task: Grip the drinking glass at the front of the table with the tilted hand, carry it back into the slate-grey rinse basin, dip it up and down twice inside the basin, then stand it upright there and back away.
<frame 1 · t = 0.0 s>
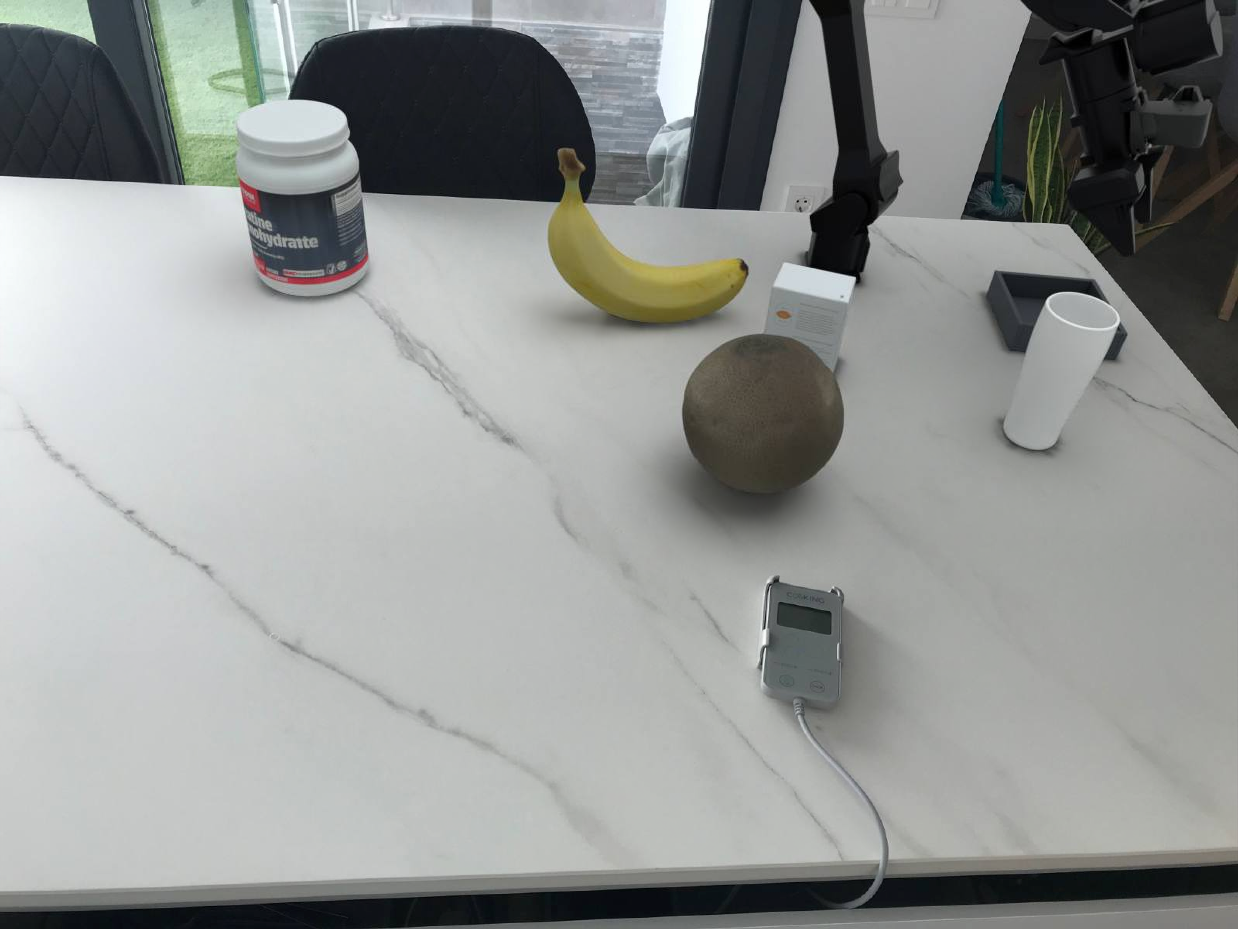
hand: (1137, 238, 102), 15 cm above the table, tool tilted 35°, fingers open, 9 cm apart
cantaloupe: (748, 483, 92), on the table
rinse basin: (1048, 326, 116), on the table
small box: (796, 366, 107), on the table
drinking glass: (1027, 437, 100), on the table
supplement tub: (315, 274, 115), on the table
banana: (644, 318, 112), on the table
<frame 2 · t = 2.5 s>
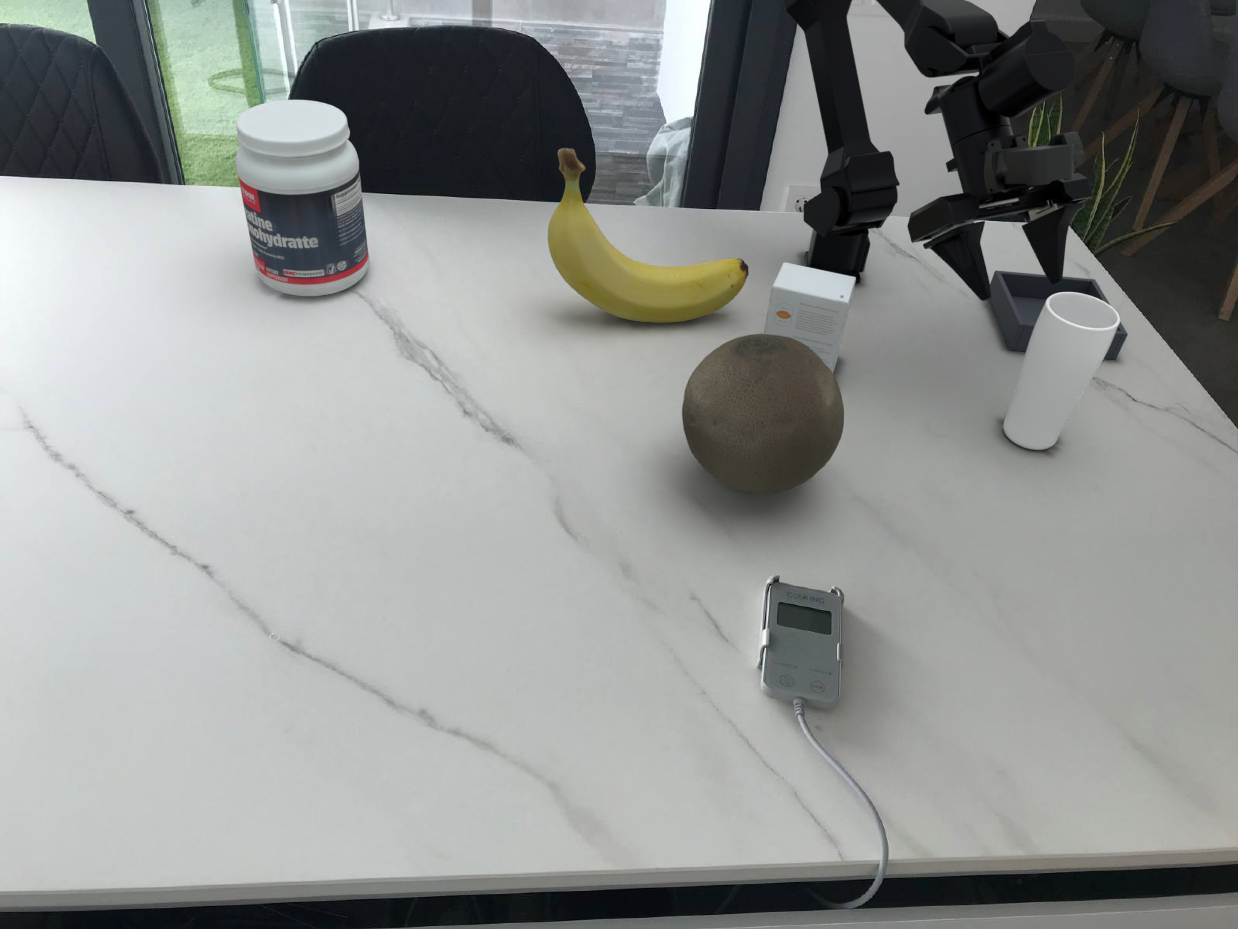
hand: (1022, 291, 96), 13 cm above the table, tool tilted 45°, fingers open, 9 cm apart
nothing on the table moved.
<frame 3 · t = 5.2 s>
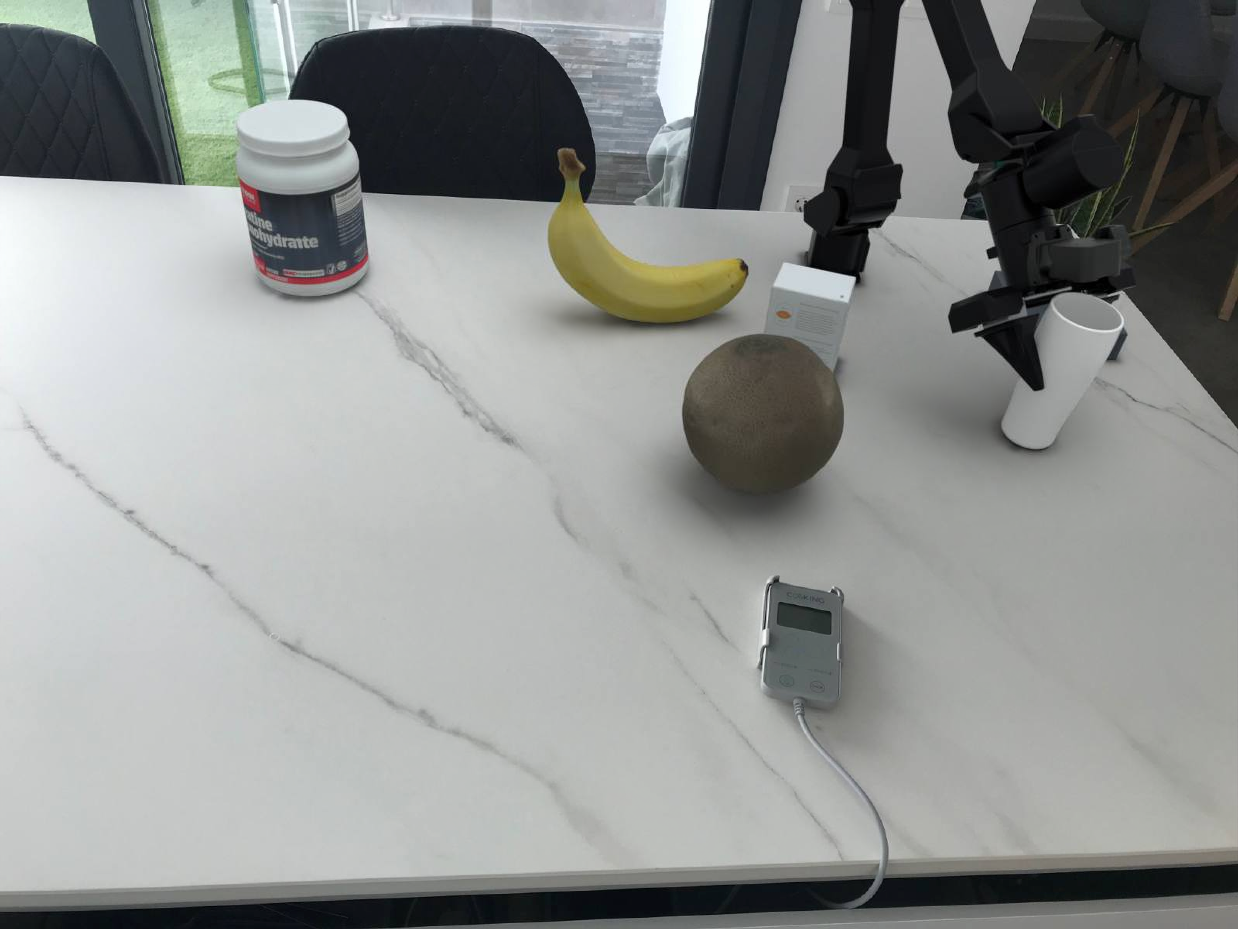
hand: (1065, 383, 94), 8 cm above the table, tool tilted 45°, fingers closed on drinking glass, 6 cm apart
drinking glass: (1024, 436, 100), on the table, touching gripper
everything else where it was.
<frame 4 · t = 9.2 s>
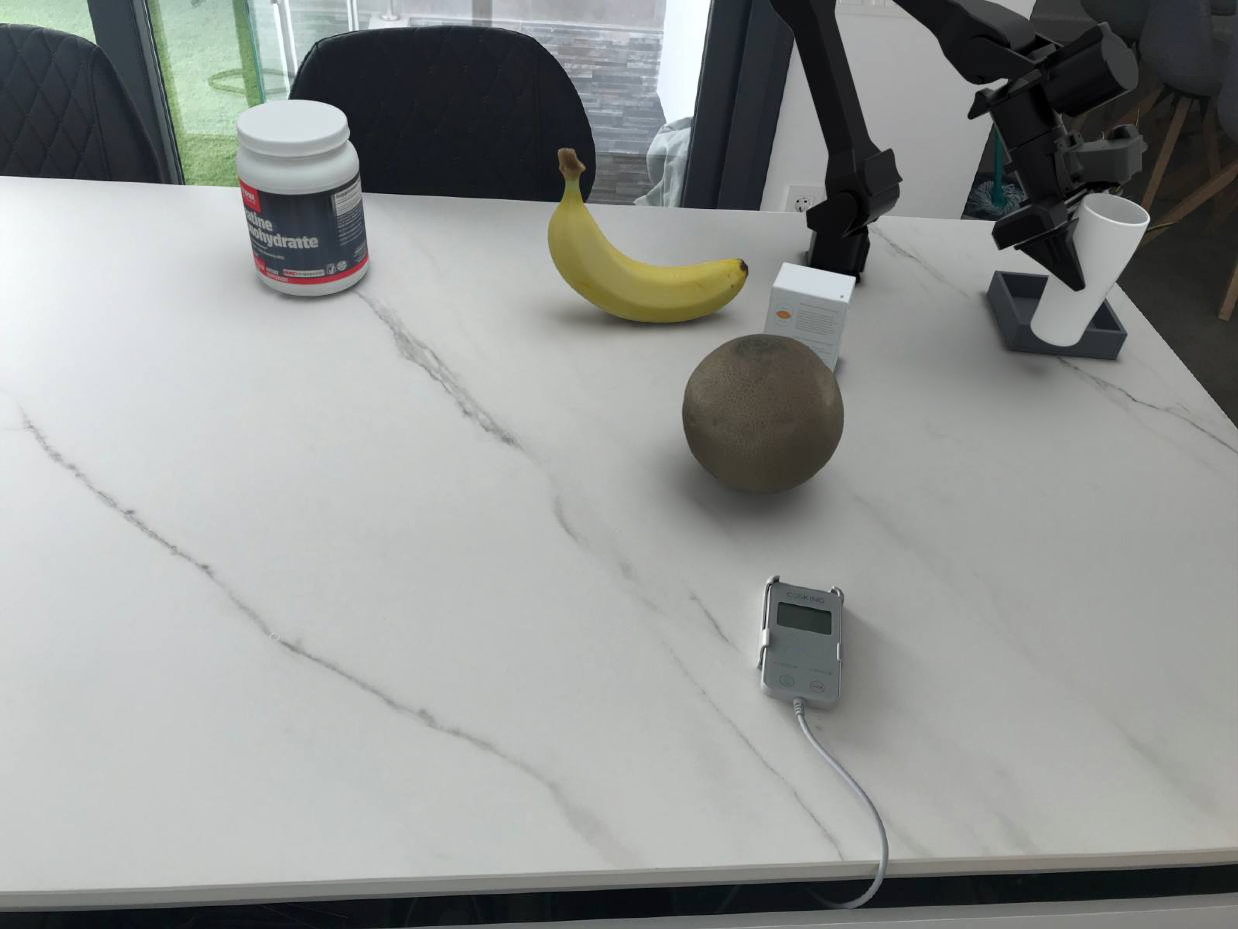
hand: (1094, 279, 100), 12 cm above the table, tool tilted 45°, fingers closed on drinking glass, 6 cm apart
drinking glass: (1052, 336, 106), point 5 cm above the table, touching gripper
everything else where it was.
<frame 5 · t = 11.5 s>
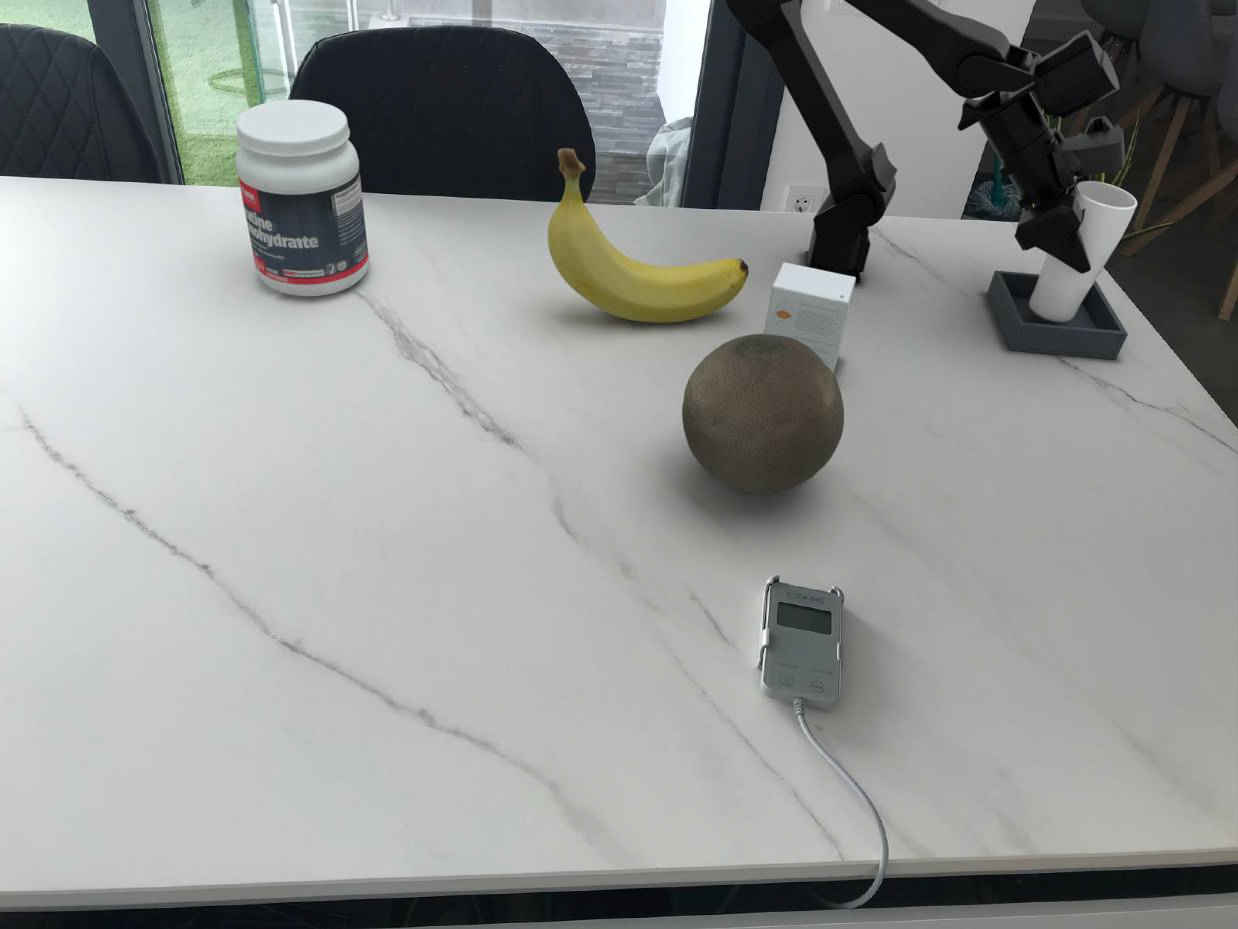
hand: (1088, 258, 110), 9 cm above the table, tool tilted 45°, fingers closed on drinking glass, 6 cm apart
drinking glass: (1049, 313, 115), point 2 cm above the table, touching gripper
everything else where it was.
when the fingers open (8 cm above the table, at t = 13.5 s): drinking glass stays where it is, resting on rinse basin.
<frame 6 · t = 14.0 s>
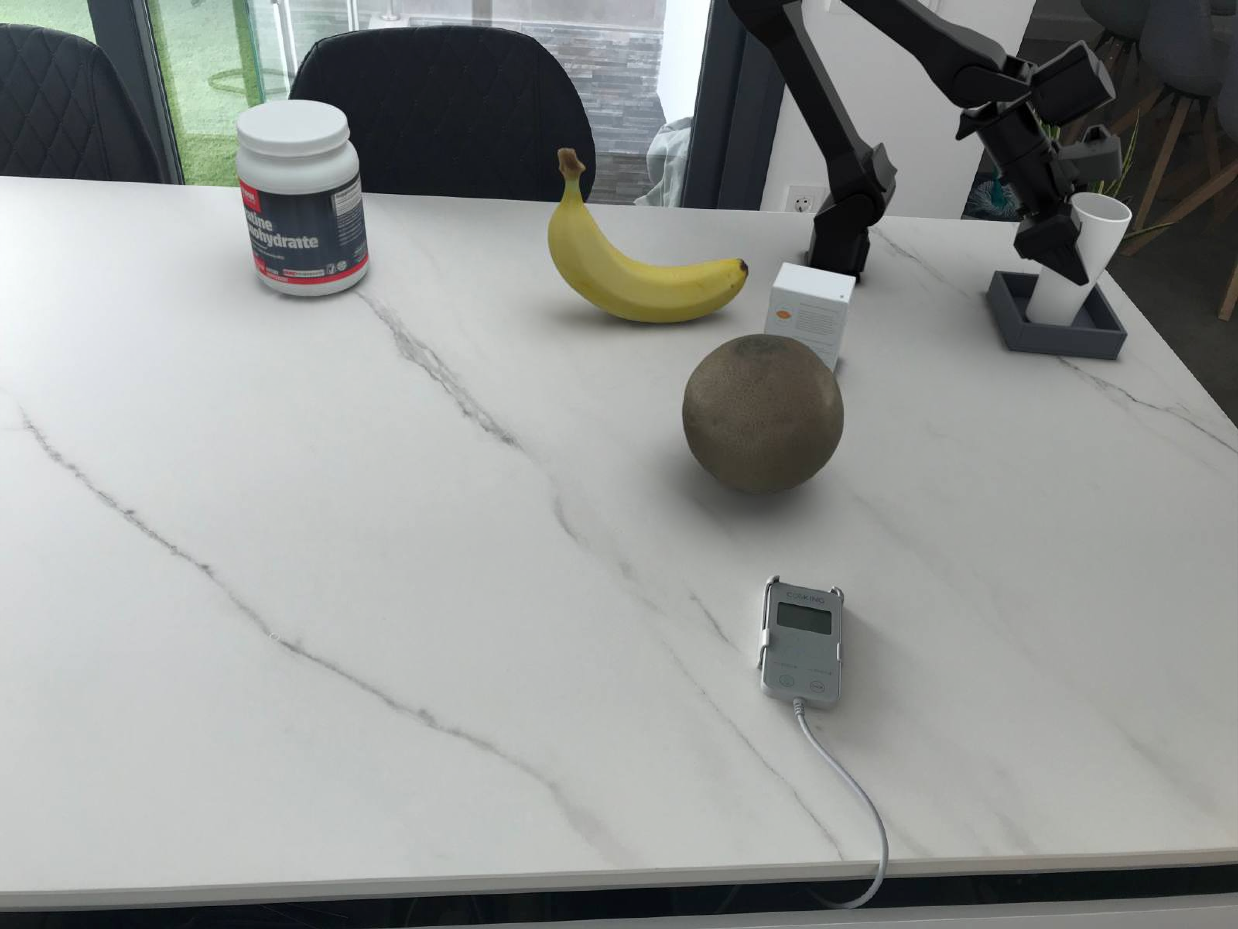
hand: (1087, 265, 110), 9 cm above the table, tool tilted 45°, fingers open, 9 cm apart
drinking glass: (1045, 322, 116), resting on rinse basin, touching gripper
everything else where it was.
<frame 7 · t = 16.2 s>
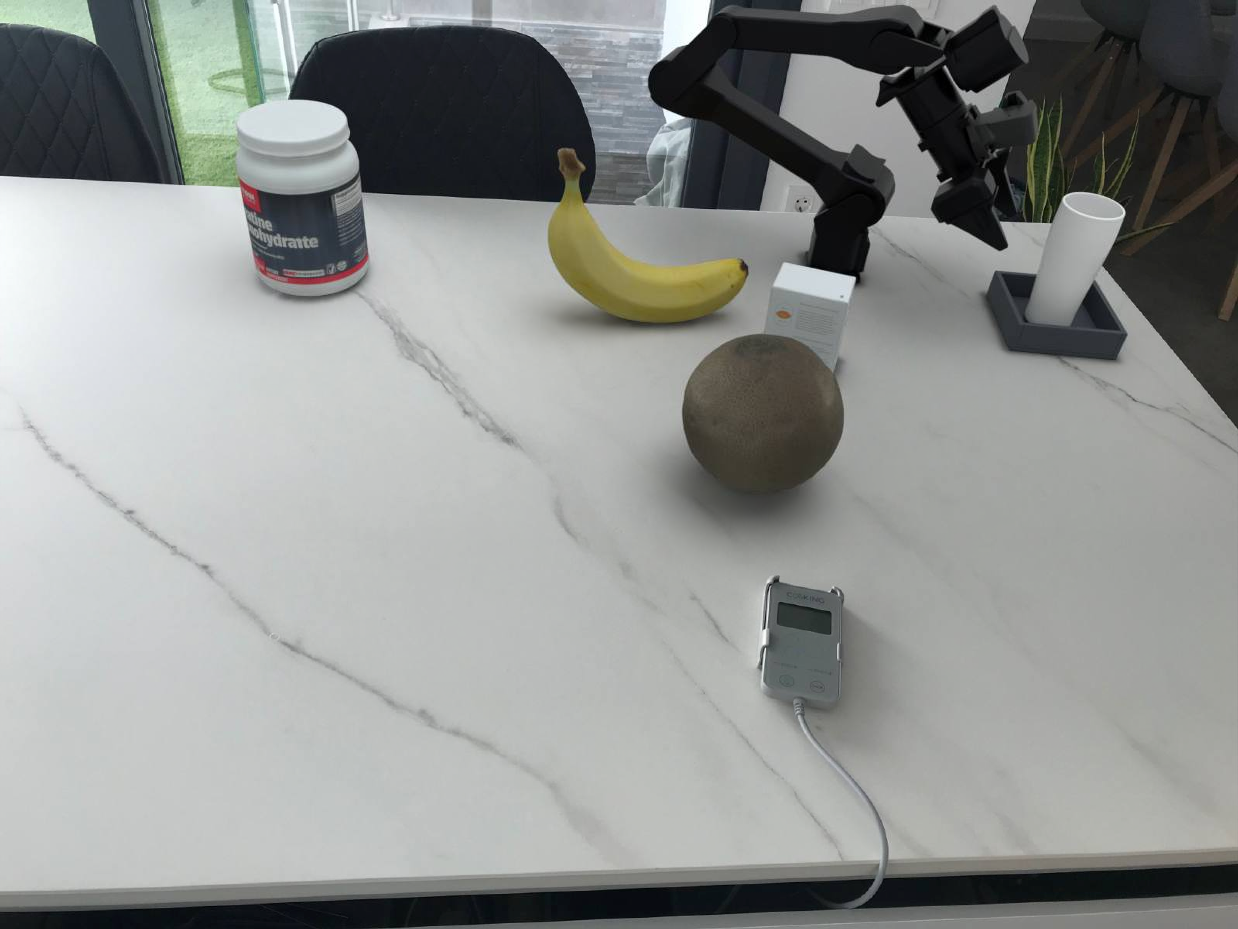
hand: (1009, 231, 112), 10 cm above the table, tool tilted 45°, fingers open, 9 cm apart
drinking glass: (1045, 323, 116), resting on rinse basin
everything else where it was.
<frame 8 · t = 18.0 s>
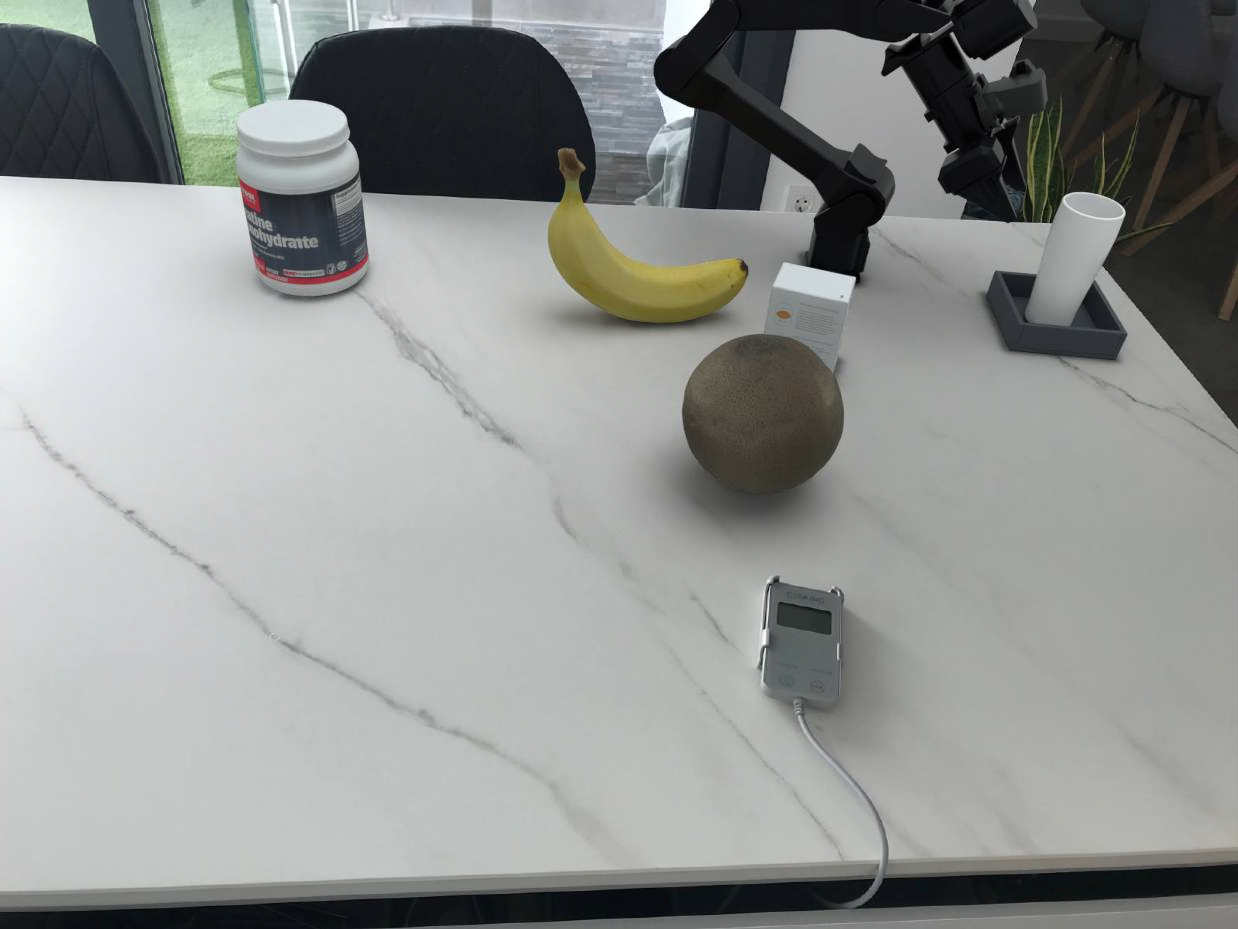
hand: (1017, 204, 110), 14 cm above the table, tool tilted 45°, fingers open, 9 cm apart
nothing on the table moved.
at the end: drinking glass inside the target area in the rinse basin (0.5 cm from its centre), point 0.3 cm above the rinse basin's base; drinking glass tilted 0°; the gripper is holding nothing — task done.
